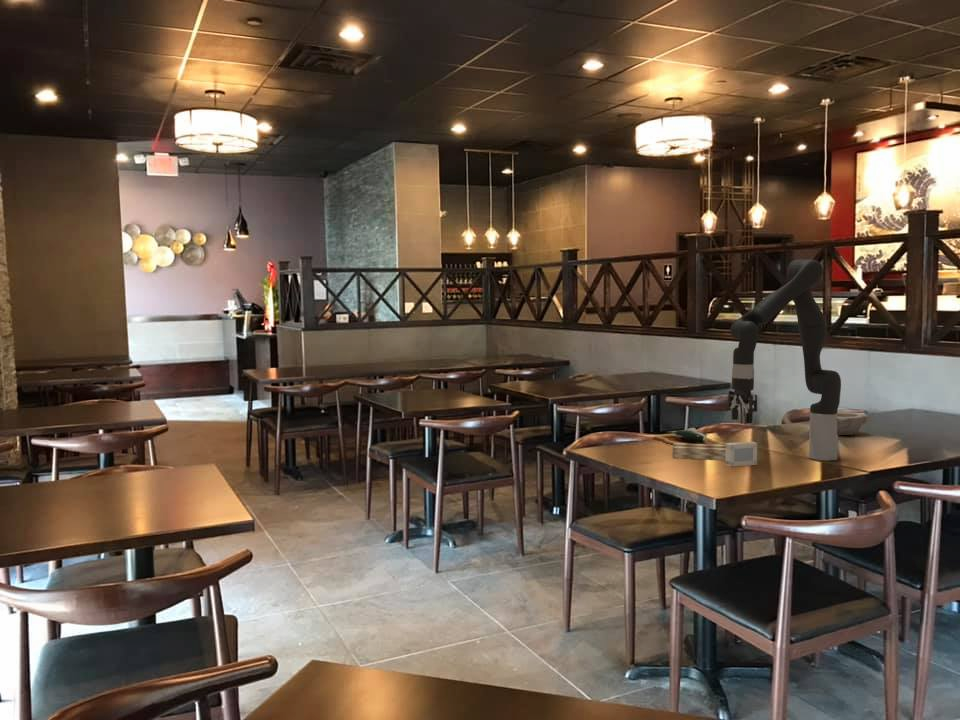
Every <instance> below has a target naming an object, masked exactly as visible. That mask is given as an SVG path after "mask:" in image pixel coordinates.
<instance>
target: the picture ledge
mask: <svg viewBox="0 0 960 720" xmlns="http://www.w3.org/2000/svg"><path fill="white" fill-rule="evenodd" d="M725 447H726V445H710V444H685V443H673V446H672V459H685V458H693V459H692V460H707V459H709V460H710V461H715V460H716V461H725Z"/></svg>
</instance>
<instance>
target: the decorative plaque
mask: <svg viewBox="0 0 960 720" xmlns="http://www.w3.org/2000/svg"><path fill="white" fill-rule="evenodd" d="M652 439H653V440H654V441H657V442H660V441H662V443H663V444H664V443H666V444H665V445H667V444H670V445H673V443H685V444H710V445H726V442H722V441H717V440H714V439H712V438H711V437H707V435H705V434H704V433H702V432H700V431H697V428H695V427H690V428H687V429H683V430H682V429H681V430H670V431H666V433H664V434H663V433H662V434H659V435H654V437H652ZM670 445H669V446H670Z"/></svg>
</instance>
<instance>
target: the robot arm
mask: <svg viewBox="0 0 960 720" xmlns="http://www.w3.org/2000/svg"><path fill="white" fill-rule="evenodd" d="M823 274H824V269H823V265H822V264H821V262H819V261H818V260H815V259H806V258H804V259H802V258H801V259H795V260H794V259H793V260H792V261H791V262H790V263H789V264H788V267H787V270H786V276H787V280H788V282H787V283H786V284H785V285H783V286H781V287H780V288H778V289H776V290H774V291H773V292H771V293H769V294H767V295H766V296H765V297H764V298H763V299H761V300H760V301H759V302H758V303H756V305H755V306H754V307H753V308H752V309H751V310H749V311H748V312H746V313H745V314H743V315H742V316H740V317H739V318H738V319H737V320H735V321H734V322H733V324H732V325H731V326H730V330H729V331H730V333H729V334H730V336H731V337H732V338H733V339H734V340H736V341H738V345H737V346H738V347H736V348H734V349H733V353H732V367H731V368H732V369H731V390H728V395H727V396H728V399H727V407H728V408H730V410H731V420H733V421H735V420H736V421H737V420H738V419H739V408H740V406H742V407H743V408H744V410H745V423H746V424H752V423H753V416H754V414H753V413H755V412H758V396H757V394H752V391H753V390H754V389H755V368H754V366H755V365H754V363H755V362H754V361H755V351H756V350H755V349H756V348H757V343H758V338H759V328H758V327H760V326H763V325H766V324H767V323H768V322H769V321H770V320H772V319H773V318H774V317H775V316H777V314H778V313H779V312H780V311H781V310H782V309H783V308H785V306H787V305H788V304H789V303H791V301H793V302H794V308H795V312H796V313H795V314H796V318H797V325H798V331H799V337H800V341H801V346H802V347H801V348H802V355H803V361H804V362H803V365H804V380H805V385H806V388H807V390H808V391H809V392H810V393H812V394H816V395H821V396H820V397H821V398H820V400H819V401H818V402H815V403H812V404H811V405H810V407H809V435H808V436H809V439H808V458H809V459H813V460H817V461H827V462H828V461H838V443H839V441H838V440H839V435H837V412H838V410H839V406H840V402H841V401H840V400H841V393H842V392H841V390H842V380H841V379H842V378H841V375H840V374H839V373H838V372H837V371H836V370H831V369H822V364H821V353H822V350H823V348H824V346H825V343H826V341H827V338H828V329H827V323H826V317H825V315H824V313H823V311H822V309H821V307H819V304H818V303H817V302H816V300H815V298H814V296H813V293H812V289H811V288H812V287H813V286H814V285H816V284H817V283H818V282H819V281H821V278H822V276H823Z"/></svg>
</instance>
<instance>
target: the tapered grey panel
mask: <svg viewBox="0 0 960 720" xmlns="http://www.w3.org/2000/svg"><path fill="white" fill-rule="evenodd" d="M725 444H726V447H725V460H724V461H725V462H724V465H725V466H727V467H742V466H743V467H744V466H757V465H758V442H754V441H742V442H741V441H740V442H725Z"/></svg>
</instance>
